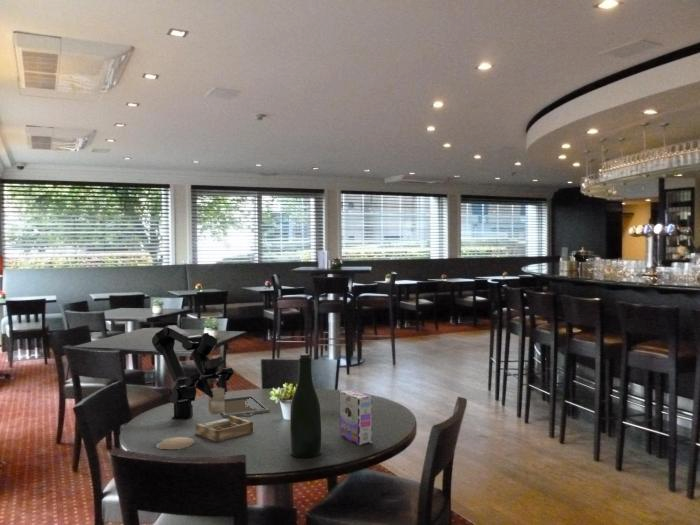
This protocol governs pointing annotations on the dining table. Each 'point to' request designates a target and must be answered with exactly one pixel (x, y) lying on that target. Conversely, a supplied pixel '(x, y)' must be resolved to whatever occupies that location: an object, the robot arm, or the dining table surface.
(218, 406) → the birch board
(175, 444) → the cork mat
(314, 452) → the green wine bottle
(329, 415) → the dining table surface
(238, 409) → the picture frame
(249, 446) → the dining table surface
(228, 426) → the frame
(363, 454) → the dining table surface
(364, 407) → the candy box
